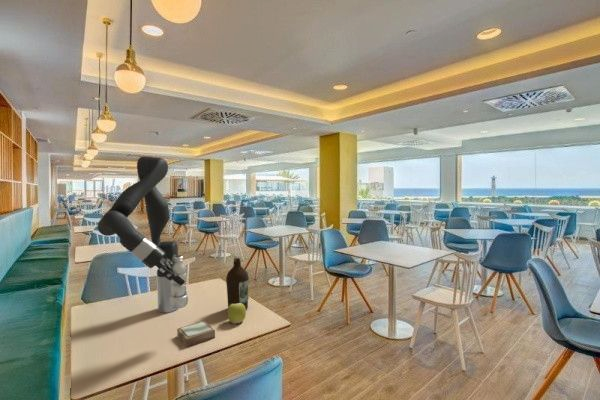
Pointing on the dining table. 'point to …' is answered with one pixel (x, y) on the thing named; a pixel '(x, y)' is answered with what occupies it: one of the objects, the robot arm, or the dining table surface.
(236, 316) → the apple
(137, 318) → the dining table surface
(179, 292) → the plastic bottle
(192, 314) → the dining table surface
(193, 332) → the walnut base
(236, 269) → the olive oil
